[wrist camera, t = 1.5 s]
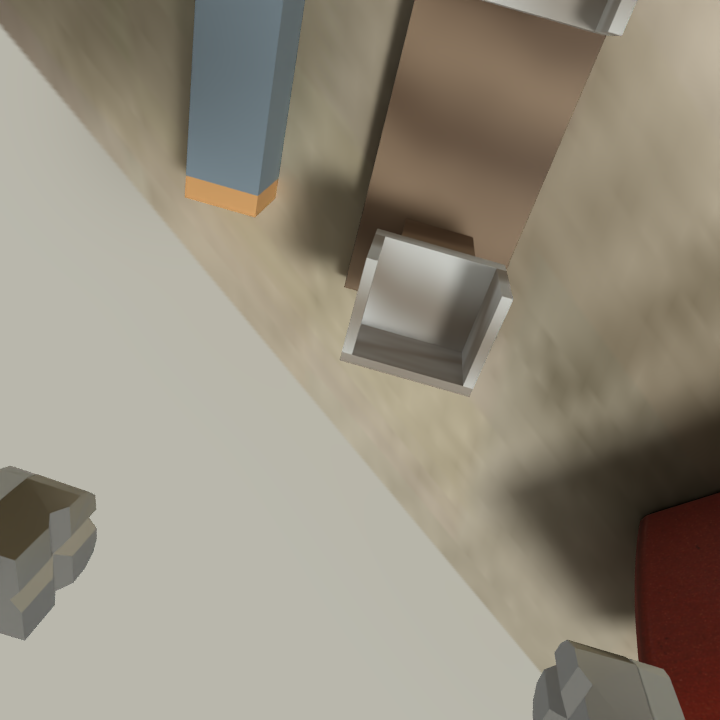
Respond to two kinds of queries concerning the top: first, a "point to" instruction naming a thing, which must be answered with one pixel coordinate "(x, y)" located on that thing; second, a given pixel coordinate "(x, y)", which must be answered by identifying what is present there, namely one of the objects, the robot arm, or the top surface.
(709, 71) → the top surface
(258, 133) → the rail
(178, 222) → the top surface
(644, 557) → the plant pot
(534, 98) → the stand
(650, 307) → the top surface
